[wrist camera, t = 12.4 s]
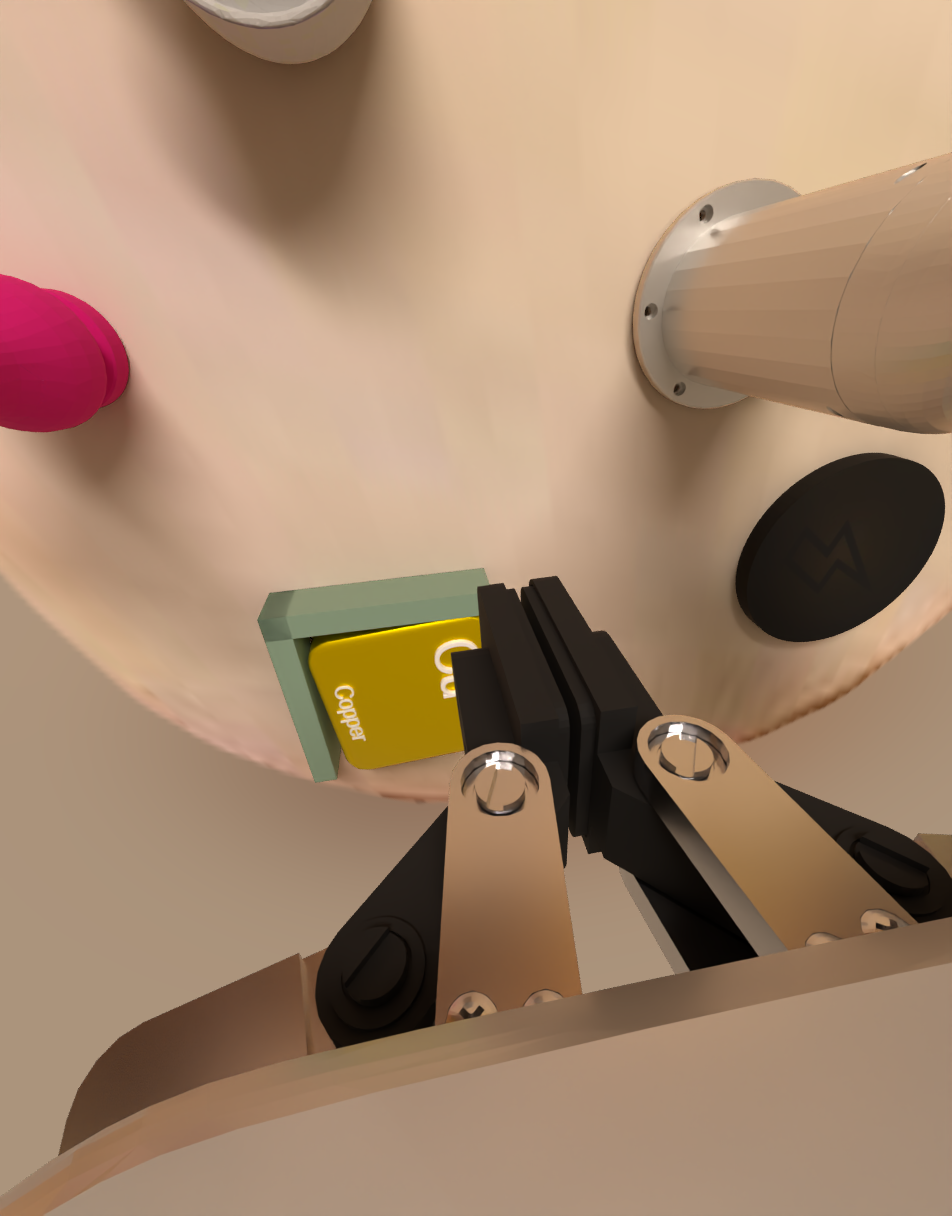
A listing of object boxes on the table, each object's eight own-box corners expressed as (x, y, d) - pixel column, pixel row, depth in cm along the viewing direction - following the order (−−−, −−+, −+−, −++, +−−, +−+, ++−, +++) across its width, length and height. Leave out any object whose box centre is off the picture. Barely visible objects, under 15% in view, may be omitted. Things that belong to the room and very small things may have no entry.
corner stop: (483, 568, 40) (491, 591, 37) (492, 724, 50) (499, 754, 46) (269, 593, 38) (257, 620, 35) (320, 749, 48) (315, 782, 45)
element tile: (307, 618, 41) (298, 652, 37) (482, 585, 41) (492, 615, 37) (354, 740, 49) (351, 779, 45) (500, 711, 49) (510, 747, 45)
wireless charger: (861, 630, 51) (877, 641, 49) (707, 631, 48) (718, 642, 46) (963, 457, 42) (987, 463, 40) (781, 445, 39) (798, 451, 37)
